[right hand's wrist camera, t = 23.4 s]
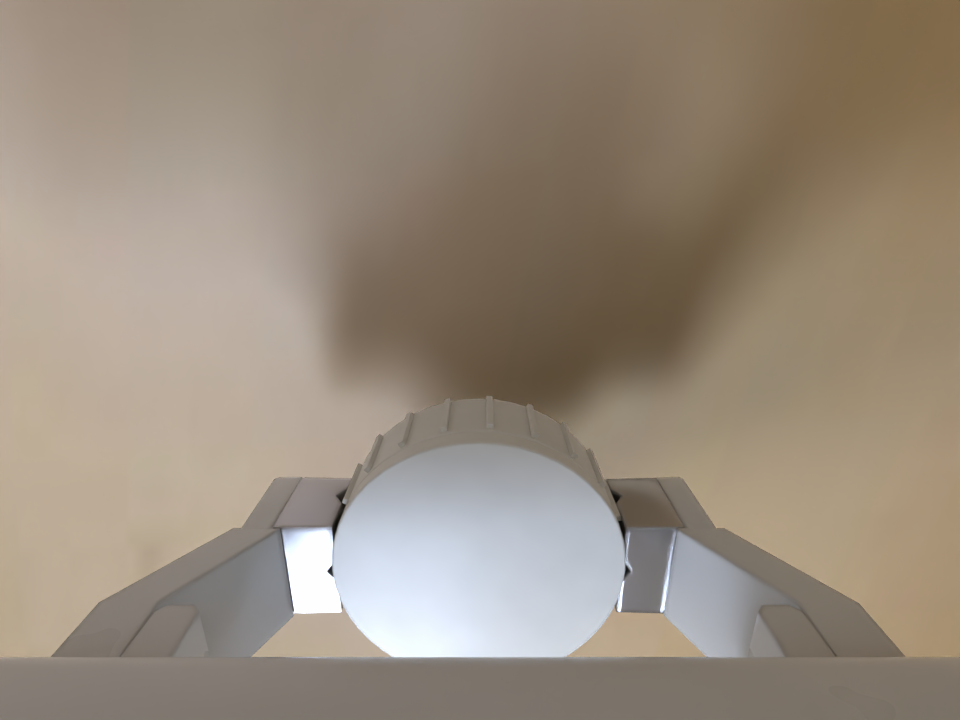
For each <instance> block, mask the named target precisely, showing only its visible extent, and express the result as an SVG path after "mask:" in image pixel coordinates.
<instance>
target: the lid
mask: <svg viewBox="0 0 960 720" xmlns="http://www.w3.org/2000/svg"><path fill="white" fill-rule="evenodd" d="M342 503H344V504H346V506H345V509H344V510H343V514H342V516H341V519H340V521H339V524H338V527H337V530H336V534H335V537H334V542H333V550H332V572H333V576H334V581H335V586H336V590H337V592H338V595H339V598H340V600H341V603H342V605H343V606H344V608H345V610H346V612H347V614H348V615H349V617H350V618H351V620H352V621H353V622H354V624H355V625H356V626H357V628H358V629H359V630H360V631H361V632H362V633H363V634H364V635H365V636H366V637H367V638H368V639H369V640H370V641H371V642H373V643H374V644H375V645H376V646H378V647H379V648H380V649H381V650H383V651H384V652H386V653H388V654H389V655H391V656H392V657H565V656H567V655H569V654H570V653H572V652H573V651H575V650H576V649H578V648H579V647H580V646H581V645H583V644H584V643H585V642H586V641H588V640H589V639H590V638H591V637H592V636H593V635H594V634H595V633H596V632H597V631H598V630H599V628H600V627H601V626H602V625H603V623H604V622H605V620H606V619H607V618H608V616H609V615H610V613H611V611H612V609H613V608H614V606H615V604H616V602H617V599H618V597H619V594H620V591H621V589H622V585H623V580H624V574H625V563H626V553H625V545H624V539H623V535H622V532H621V529H620V525H619V522H618V521H621V516H620V513H619V511H618V508H617V506H616V503H615V501H614V499H613V496H612V494H611V491H610V489H609V486H608V484H607V481H606V479H605V480H604V478H603V476H602V473H601V471H600V468H599V466H598V463H597V461H596V459H595V456H594V454H593V451H592V450H591V449H590V448H589V449H587V450H586V449H585V447H584V446H583V445H582V444H581V443H580V442H579V440H578V439H577V438H576V437H575V436H574V435H573V434H572V433H571V432H570V431H569V428H568V425H567V424H566V423H565V422H562V423H561V424H560V423H558V422H556V421H555V420H553V419H552V418H550V417H548V416H547V415H545V414H543V413H540V412H538V411H536V410H534V408H533V405H531V404H527V406H523V405H519V404H516V403H512V402H507V401H501V400H495V399H493V398H492V396H486V399H463V400H456V401H451V399H450V398H448V399H444V403H442V404H438V405H435V406H432V407H429V408H426V409H424V410H422V411H419V412H417V413H415V414H413V413H412V412H409V413H407V414H406V417H405V420H403V421H401V422H400V423H398V424H397V425H396V426H394V427H393V428H392V429H391V430H389V431H388V432H387V433H386V434H385V435H384V436H382V435H380V434H379V435H378V436H377V437H376V440H375V442H374V445H373V447H372V450H371V452H370V453H369V455H368V456H367V458H366V459H365V461H364V463H363V465H361V464H358V465H357V468H356V470H355V472H354V475H353V477H352V479H351V482H350V484H349V487H348V489H347V491H346V494H345V496H344V498H343V501H342Z"/></svg>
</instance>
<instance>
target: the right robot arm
mask: <svg viewBox="0 0 960 720" xmlns="http://www.w3.org/2000/svg"><path fill="white" fill-rule="evenodd" d="M351 479H352V478H307V477H305V478H302V477H279V478H277V479H275V480H274V481H273V482H272V483H271V485H270V486H269V488H268V489H267V491H266V492H265V494H264V495H263V497H262V498H261V500H260V501H259V503H258V504H257V506H256V507H255V509H254V510H253V512H252V513H251V515H250V516H249V518H248V519H247V521H246V522H245V523H244V525H243V526H242V528H233V529H231V530H229V531H228V532H226V533H224V534H222V535H220V536H218V537H217V538H215V539H213V540H211V541H209V542H208V543H206V544H204V545H202V546H200V547H199V548H197V549H195V550H193V551H191V552H190V553H188V554H186V555H184V556H182V557H181V558H179V559H177V560H175V561H173V562H171V563H170V564H168V565H166V566H164V567H162V568H161V569H159V570H157V571H155V572H153V573H152V574H150V575H148V576H146V577H144V578H143V579H141V580H139V581H137V582H135V583H134V584H132V585H130V586H128V587H126V588H124V589H123V590H121V591H119V592H117V593H115V594H114V595H112V596H110V597H108V598H106V599H105V600H103V601H101V602H99V603H98V604H97V605H96V606H95V608H94V609H93V610H92V611H91V612H90V613H89V614H88V615H87V617H86V618H85V619H84V620H83V621H82V622H81V623H80V625H79V626H78V627H77V628H76V629H75V630H74V631H73V632H72V634H71V635H70V636H69V637H68V638H67V639H66V640H65V641H64V643H63V644H62V645H61V646H60V647H59V648H58V649H57V650H56V652H55V653H54V654H53V655H52V656H51V657H0V720H960V657H905V656H904V654H903V653H902V652H901V651H900V650H899V649H898V648H897V646H896V645H895V644H894V643H893V642H892V641H891V639H890V638H889V637H888V636H887V635H886V634H885V633H884V631H883V630H882V629H881V628H880V627H879V626H878V625H877V623H876V622H875V621H874V620H873V619H872V618H871V617H870V615H869V614H868V613H867V612H866V611H865V610H864V609H863V607H862V606H861V605H860V604H859V603H857V602H855V601H854V600H852V599H850V598H848V597H846V596H845V595H843V594H841V593H839V592H838V591H836V590H834V589H832V588H830V587H829V586H827V585H825V584H823V583H821V582H820V581H818V580H816V579H814V578H812V577H811V576H809V575H807V574H805V573H803V572H802V571H800V570H798V569H796V568H794V567H793V566H791V565H789V564H787V563H785V562H784V561H782V560H780V559H778V558H777V557H775V556H773V555H771V554H769V553H768V552H766V551H764V550H762V549H760V548H759V547H757V546H755V545H753V544H751V543H750V542H748V541H746V540H744V539H742V538H741V537H739V536H737V535H735V534H733V533H732V532H730V531H728V530H726V529H725V528H716V527H715V526H714V524H713V523H712V521H711V520H710V518H709V517H708V515H707V514H706V512H705V511H704V509H703V508H702V506H701V505H700V504H699V502H698V501H697V499H696V498H695V496H694V495H693V493H692V492H691V490H690V489H689V487H688V486H687V484H686V483H685V481H684V480H683V479H682V478H680V477H663V478H636V479H606V481H607V484H608V486H609V489H610V491H611V494H612V496H613V499H614V501H615V503H616V506H617V508H618V511H619V513H620V516H621V521H618V522H619V525H620V529H621V532H622V535H623V539H624V545H625V553H626V563H625V574H624V580H623V585H622V589H621V591H620V594H619V597H618V599H617V602H616V604H615V609H616V612H637V613H664V616H665V617H666V618H667V619H668V620H669V621H670V622H671V623H672V624H673V625H674V626H675V627H676V628H677V629H678V630H680V631H681V632H682V633H683V634H684V635H685V636H686V637H687V638H688V639H689V640H690V641H691V642H692V643H693V644H694V645H695V646H696V647H697V648H698V649H699V650H700V651H701V652H702V653H703V654H704V655H705V656H706V657H251V656H252V655H253V654H254V653H255V652H256V651H257V650H258V649H260V648H261V647H262V646H263V645H264V644H265V643H266V642H267V641H268V640H269V639H270V638H271V637H272V636H273V635H274V634H275V633H276V632H277V631H278V630H279V629H280V628H281V627H283V626H284V625H285V624H286V623H287V622H288V621H289V620H290V619H291V618H292V617H293V613H319V612H341V611H342V608H343V605H342V603H341V600H340V598H339V595H338V592H337V590H336V586H335V581H334V576H333V572H332V550H333V542H334V537H335V534H336V530H337V527H338V524H339V521H340V519H341V516H342V514H343V510H344V509H345V506H346V504H344V503H342V501H343V498H344V496H345V494H346V491H347V489H348V487H349V484H350V482H351ZM604 480H605V479H604Z"/></svg>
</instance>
